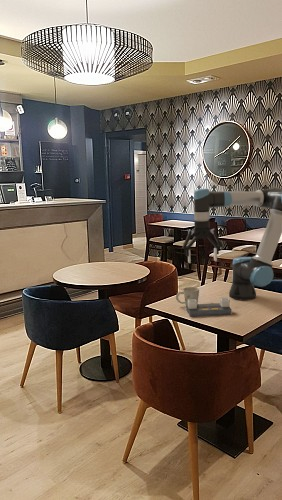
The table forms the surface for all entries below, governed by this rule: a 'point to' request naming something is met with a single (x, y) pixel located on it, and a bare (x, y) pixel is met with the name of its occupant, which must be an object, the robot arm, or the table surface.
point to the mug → (189, 294)
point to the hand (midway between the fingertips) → (202, 261)
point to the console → (209, 310)
